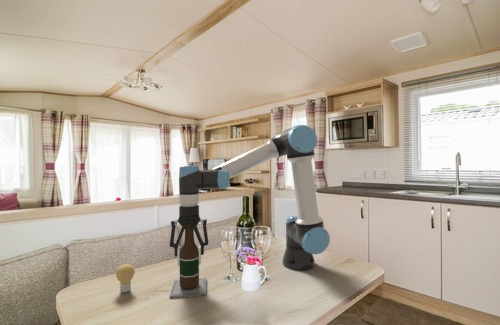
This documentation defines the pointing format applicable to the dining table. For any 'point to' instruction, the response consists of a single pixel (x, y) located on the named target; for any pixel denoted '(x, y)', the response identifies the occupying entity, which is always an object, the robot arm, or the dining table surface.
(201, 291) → the plate
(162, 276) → the dining table surface
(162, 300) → the dining table surface
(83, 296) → the dining table surface
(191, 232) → the beer bottle
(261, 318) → the dining table surface
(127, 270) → the light bulb
